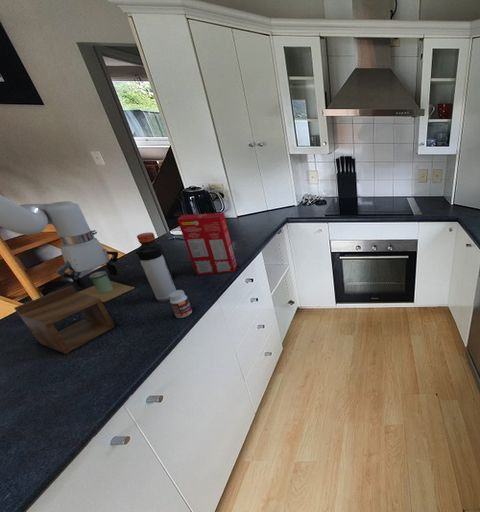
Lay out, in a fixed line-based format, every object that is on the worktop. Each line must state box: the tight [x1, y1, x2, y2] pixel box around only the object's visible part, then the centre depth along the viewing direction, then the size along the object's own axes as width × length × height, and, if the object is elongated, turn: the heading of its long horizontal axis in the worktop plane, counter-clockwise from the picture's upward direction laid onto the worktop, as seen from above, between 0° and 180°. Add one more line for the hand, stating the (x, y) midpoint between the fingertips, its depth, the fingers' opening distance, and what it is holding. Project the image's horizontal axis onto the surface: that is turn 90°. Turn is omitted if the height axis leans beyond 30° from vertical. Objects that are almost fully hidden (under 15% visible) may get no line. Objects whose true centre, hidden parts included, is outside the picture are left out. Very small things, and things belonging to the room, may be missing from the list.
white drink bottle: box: [136, 231, 174, 280], centre depth 107 cm, size 7×7×20 cm
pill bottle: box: [169, 289, 193, 319], centre depth 90 cm, size 5×5×8 cm
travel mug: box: [135, 247, 177, 302], centre depth 96 cm, size 6×7×20 cm
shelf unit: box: [13, 284, 116, 355], centre depth 80 cm, size 12×12×13 cm
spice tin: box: [88, 270, 114, 293], centre depth 102 cm, size 5×5×7 cm
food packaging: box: [177, 212, 238, 276], centre depth 113 cm, size 15×5×25 cm, turn 104°
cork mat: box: [79, 280, 136, 303], centre depth 103 cm, size 16×10×1 cm, turn 72°
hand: (98, 280), depth 101 cm, fingers open, 9 cm apart
